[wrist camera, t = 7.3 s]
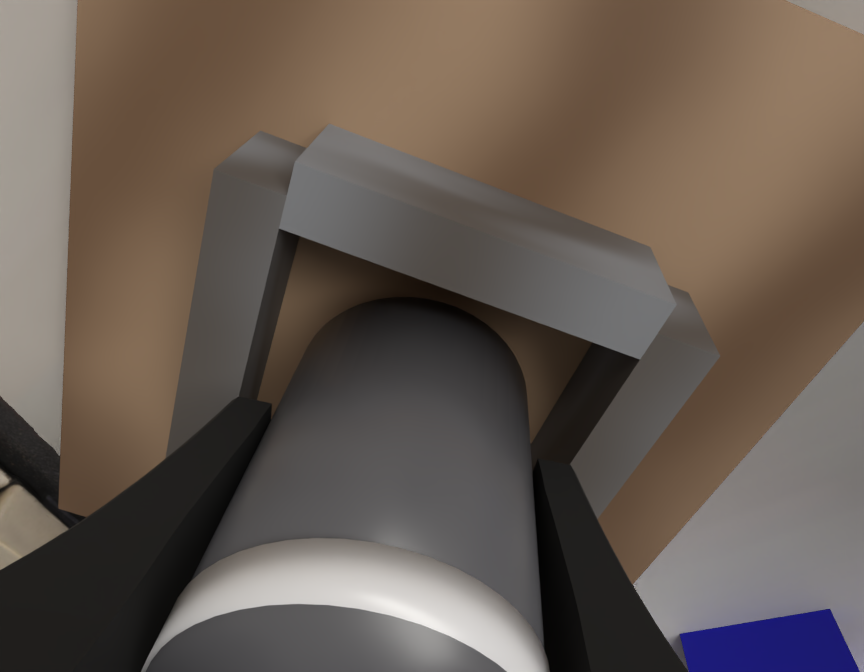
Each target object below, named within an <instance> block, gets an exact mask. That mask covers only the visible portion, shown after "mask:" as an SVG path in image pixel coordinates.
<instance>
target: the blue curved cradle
mask: <svg viewBox="0 0 864 672" xmlns="http://www.w3.org/2000/svg"><path fill="white" fill-rule="evenodd" d="M680 637H681V642H682V646H683V650H684V654H685V658H686V662H687V666H688V670H689V672H860V671H859V669H858V667H857V665H856V663H855V661H854V659H853V657H852V655H851V652H850V650H849V648H848V646H847V644H846V642H845V640H844V638H843V636H842V634H841V631H840V629H839V627H838V625H837V623H836V621H835V619H834V617H833V615H832V612H831V610H830V609H826V610H820V611H814V612H808V613H802V614H796V615H790V616H784V617H778V618H772V619H766V620H760V621H754V622H748V623H742V624H736V625H730V626H724V627H718V628H712V629H706V630H700V631H694V632H688V633H682V634H680Z"/></svg>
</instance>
